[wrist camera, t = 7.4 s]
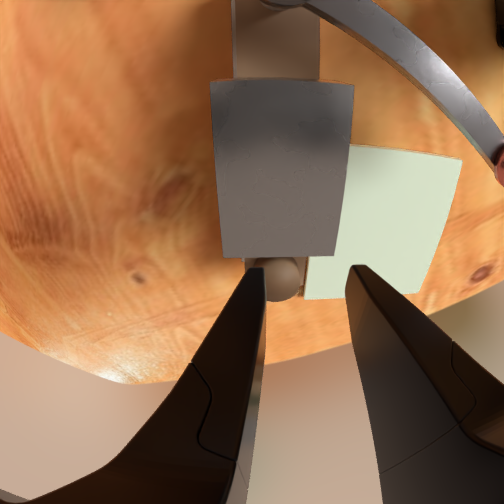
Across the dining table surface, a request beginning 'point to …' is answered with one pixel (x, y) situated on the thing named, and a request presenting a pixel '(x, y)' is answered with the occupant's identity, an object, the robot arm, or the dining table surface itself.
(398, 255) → the mat
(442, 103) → the lever
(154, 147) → the dining table surface
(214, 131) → the flat grey slab block
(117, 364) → the dining table surface
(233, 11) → the body
